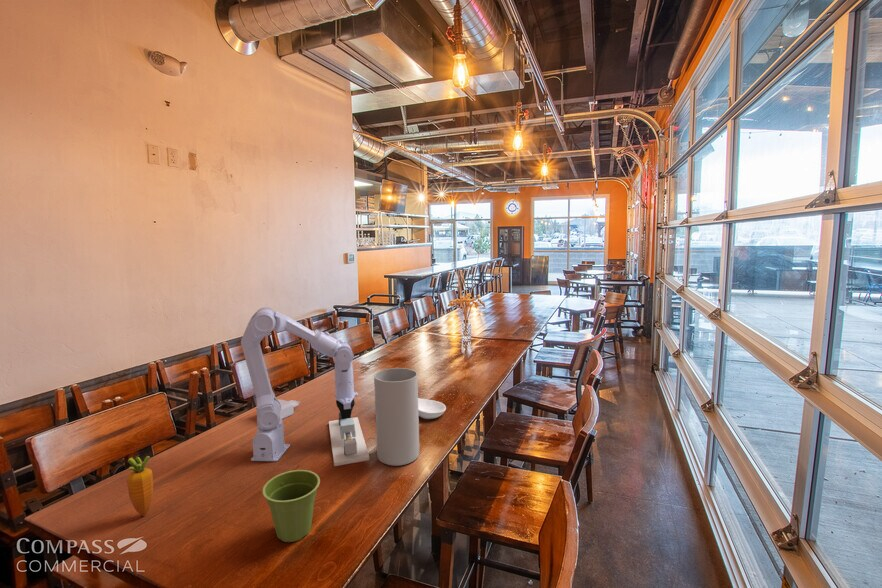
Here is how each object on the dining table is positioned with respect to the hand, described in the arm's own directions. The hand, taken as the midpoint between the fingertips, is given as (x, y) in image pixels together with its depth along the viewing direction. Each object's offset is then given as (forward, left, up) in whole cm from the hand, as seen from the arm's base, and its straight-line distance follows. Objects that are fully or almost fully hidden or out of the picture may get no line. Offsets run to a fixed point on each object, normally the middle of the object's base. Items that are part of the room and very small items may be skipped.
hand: (346, 422), depth 134 cm
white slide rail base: (-1, 0, -6) cm, 6 cm away
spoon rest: (+19, -19, -6) cm, 28 cm away
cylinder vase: (-10, -18, -6) cm, 21 cm away
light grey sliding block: (-3, -1, -3) cm, 4 cm away
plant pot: (-43, 0, -6) cm, 43 cm away
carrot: (-39, +38, -6) cm, 54 cm away
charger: (+20, +30, -6) cm, 36 cm away
